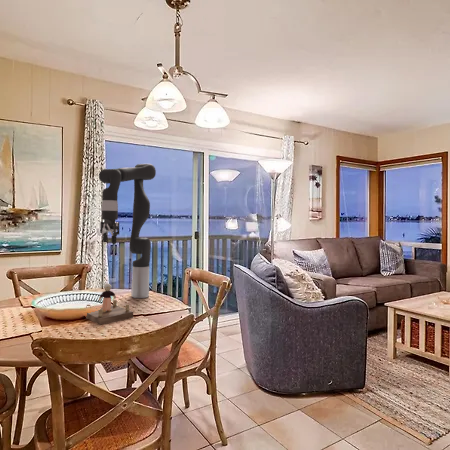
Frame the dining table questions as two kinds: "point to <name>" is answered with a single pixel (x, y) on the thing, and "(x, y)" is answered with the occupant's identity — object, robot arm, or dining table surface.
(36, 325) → the dining table surface
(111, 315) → the grey peg board
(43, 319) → the dining table surface
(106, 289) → the grandmother figurine
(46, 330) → the dining table surface
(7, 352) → the dining table surface
